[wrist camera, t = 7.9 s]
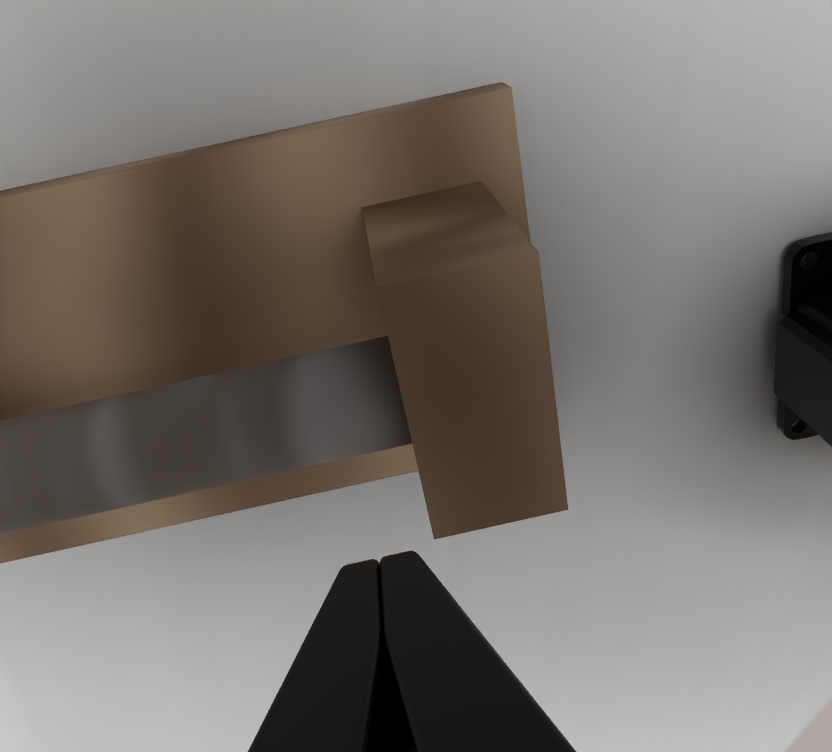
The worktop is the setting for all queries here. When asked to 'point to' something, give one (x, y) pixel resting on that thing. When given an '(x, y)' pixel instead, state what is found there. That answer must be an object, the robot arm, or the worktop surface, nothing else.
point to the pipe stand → (278, 329)
